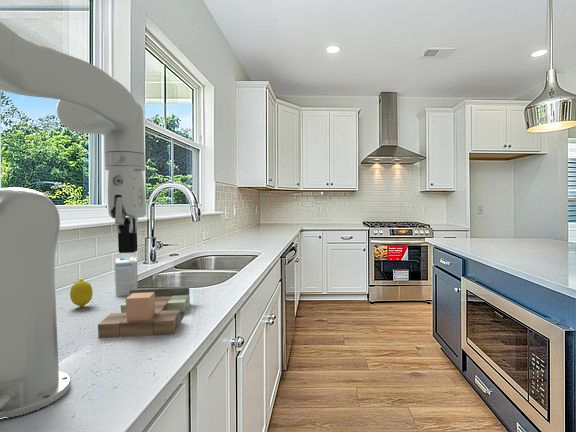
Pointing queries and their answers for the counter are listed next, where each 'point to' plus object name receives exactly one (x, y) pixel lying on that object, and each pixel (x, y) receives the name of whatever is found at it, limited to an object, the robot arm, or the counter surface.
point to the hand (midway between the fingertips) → (128, 251)
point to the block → (140, 306)
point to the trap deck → (162, 322)
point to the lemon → (81, 293)
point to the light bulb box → (125, 275)
